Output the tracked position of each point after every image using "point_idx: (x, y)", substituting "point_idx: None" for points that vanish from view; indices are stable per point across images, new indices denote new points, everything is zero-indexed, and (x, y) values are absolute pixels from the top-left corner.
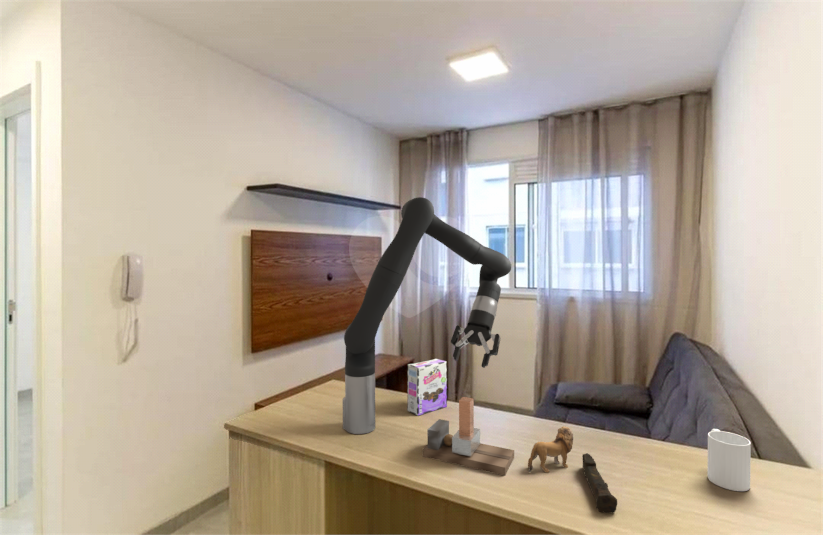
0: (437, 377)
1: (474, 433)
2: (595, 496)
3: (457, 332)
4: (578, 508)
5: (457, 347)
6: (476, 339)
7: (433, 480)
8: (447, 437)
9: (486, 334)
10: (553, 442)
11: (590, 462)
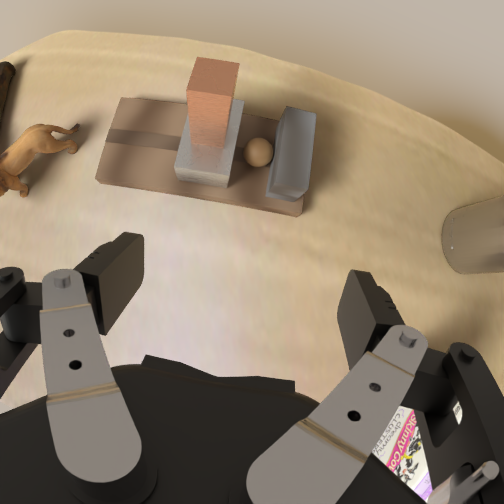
0: (385, 464)
1: (187, 135)
2: (6, 83)
3: (492, 445)
4: (36, 67)
5: (392, 322)
6: (181, 405)
7: (258, 62)
8: (262, 138)
9: (5, 450)
10: (8, 151)
11: None
